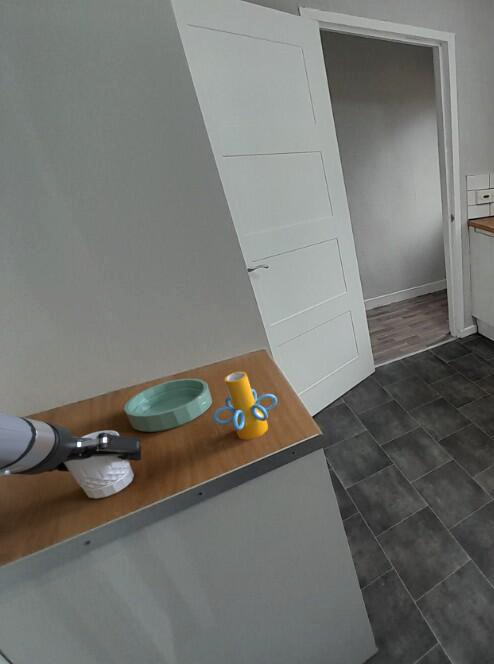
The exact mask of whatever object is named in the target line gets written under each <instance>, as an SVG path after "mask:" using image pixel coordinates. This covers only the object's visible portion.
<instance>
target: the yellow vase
mask: <svg viewBox="0 0 494 664" xmlns="http://www.w3.org/2000/svg"><path fill="white" fill-rule="evenodd" d="M223 379H224V382H225V385H226V389H227V392H228V394H229V396H226V397H225V399H224V403H225V406H221V407H219V408H218V409H216V410H215V411H214V412H213V414H212V420H213V421H214V422H215V424H218V425H227V424H230V423H232V425H233V428H234V430H235V431H236V434H237V436H238V438H240V439H241V440H243V441H244V440H245V441H248V440H254V439H257V438H259V437H261V436H262V435H264V434H265V433H266V432H267V431H268V429H269V425H268V421H267V419H268V418H269V416H268V415H269V414H268V411H270V410H273V409H274V408H275V407H276V406H277V404H278V398H277V397H276V396H275V395H274V394H271V393H264V394H262V395H260V396H259V397H258V394H257V392H256V390H255V389H254V388H252V387H251V384H250V380H249V377H248V374H247V372H245V371H235V372H232V373H229V374H227V375H226V376H225V377H224V378H223ZM266 398H270V399H271V400H272V403H271V404H270V405H269V406H266V407H265V406H262V405H261V404H260V403H261V401H262V400H263V399H266ZM230 401H231V402H230ZM231 403H232V404H231ZM223 411H230V412H231V413H232V415H231V417H230V418H228V419H226V420H221V419H220V418H218V416H219V414H220V413H222V412H223Z"/></svg>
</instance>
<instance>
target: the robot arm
mask: <svg viewBox="0 0 494 664" xmlns="http://www.w3.org/2000/svg"><path fill="white" fill-rule="evenodd" d="M80 454H81V455H80ZM97 456H118V458H121V459H122V460H126V459H128V460H129V461H135V462H136V461H141V460H142V445H141V438H140V437H132V436H124V435H119V436H117V435H111V434H109V433H100V434H98V436H96V439H92V438H81V437H79V436H76V435H72V433H70V431H69V429H67V428H65V427H64V426H62V425H58V424H55V423H50V422H46V421H41V420H36V419H32V418H27V417H23V416H19V415H14V414H9V413H5V412H2V411H0V477H8V476H10V475H23V476H24V475H25V476H34V475H40V474H43V473H46V472H49V473H51V472H54V471H58V472H68V473H70V472H69V470H68V469H67V467H66V466H65V464H64V463H63V462H67V461H70V460H84V459H87V458H90V457H97Z"/></svg>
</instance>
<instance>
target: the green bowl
mask: <svg viewBox="0 0 494 664" xmlns="http://www.w3.org/2000/svg"><path fill="white" fill-rule="evenodd" d="M212 404H213V396H212V394H211V390H210V387H209V384H208V383H207V382H206V381H205V380H203V379H199V378H179V379H173V380H169V381H165V382H162V383H159V384H156V385H153V386H150V387H148V388H146V389H144V390H142V391H140V392H138V393H137V394H135V395H133V396H132V397H131V398H130V399H129V400H128V401H127V402H126V403H125V404H124V408H123V410H124V414H125V415H126V417H127V420H128V422H129V424H130V426H131V427H132V428H133V429H134V430H137V431H140V432H148V433H153V432H154V433H155V432H156V433H157V432H163V431H168V430H171V429H175V428H178V427H181V426H183V425H185V424H188V423H189V422H191V421H194V420H195V419H197V418H199V417H200V416H202V415H203V414H204V413H205V412H206V411H207V410H208V409H209V408H210V407H211V405H212Z"/></svg>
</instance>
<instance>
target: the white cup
mask: <svg viewBox="0 0 494 664" xmlns="http://www.w3.org/2000/svg"><path fill="white" fill-rule="evenodd" d="M100 433H109V434H111V435H117V436H120V434H119V433H118V432H117V431H116V430H107V429H106V430H100V431H95V432H91V433H89V434H85V435H83V436H81V437H80V438H92V439H96V436H98V434H100ZM80 455H81V454H80ZM63 463H64V464H65V466H66V467H67V469H68V470H69V472H68V473H70V475H71V476H72V478H74V480H75V482H76V483H77V484H78V486H79V487H81V488H82V489H83V491H84V492H85V494H86V495H87V498H90V499H95V500H96V499H102V498H107V497H110V496H112V495H115V494H118V493H119V492H120V491H122V490H124V489H126V487H128V486H129V485H130V484H131V483H132V481H133V479H134V477H135V474H134V472H133V470H132V467H131V464H130V460H128V459H126V460H122V459H121V458H118V456H97V457H90V458H87V459H84V460H70V461H67V462H63Z"/></svg>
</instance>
